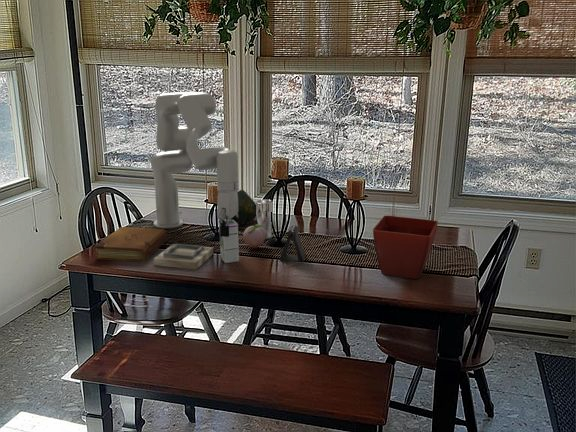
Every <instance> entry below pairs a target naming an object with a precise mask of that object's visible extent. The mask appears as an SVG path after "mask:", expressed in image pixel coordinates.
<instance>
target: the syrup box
mask: <svg viewBox="0 0 576 432" xmlns="http://www.w3.org/2000/svg"><path fill="white" fill-rule="evenodd" d="M225 222H226V220H225ZM218 225H219V224H218ZM228 226H229V237H222V236H220V235H219V246H220V247H219V250H220V251H219V253H220V254H219V255H220V259H221V260H222V261H223V262H224V264H226V263H227V264H229V263H236V262H240V251H239V250H240V249H239V247H240V244H239V225H238V224H237V223H236V222H235V221H234V220H233V219H231V220H229V222H228ZM218 228H219V229H218V231H219V232H218V233H220V225H219V227H218Z"/></svg>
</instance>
